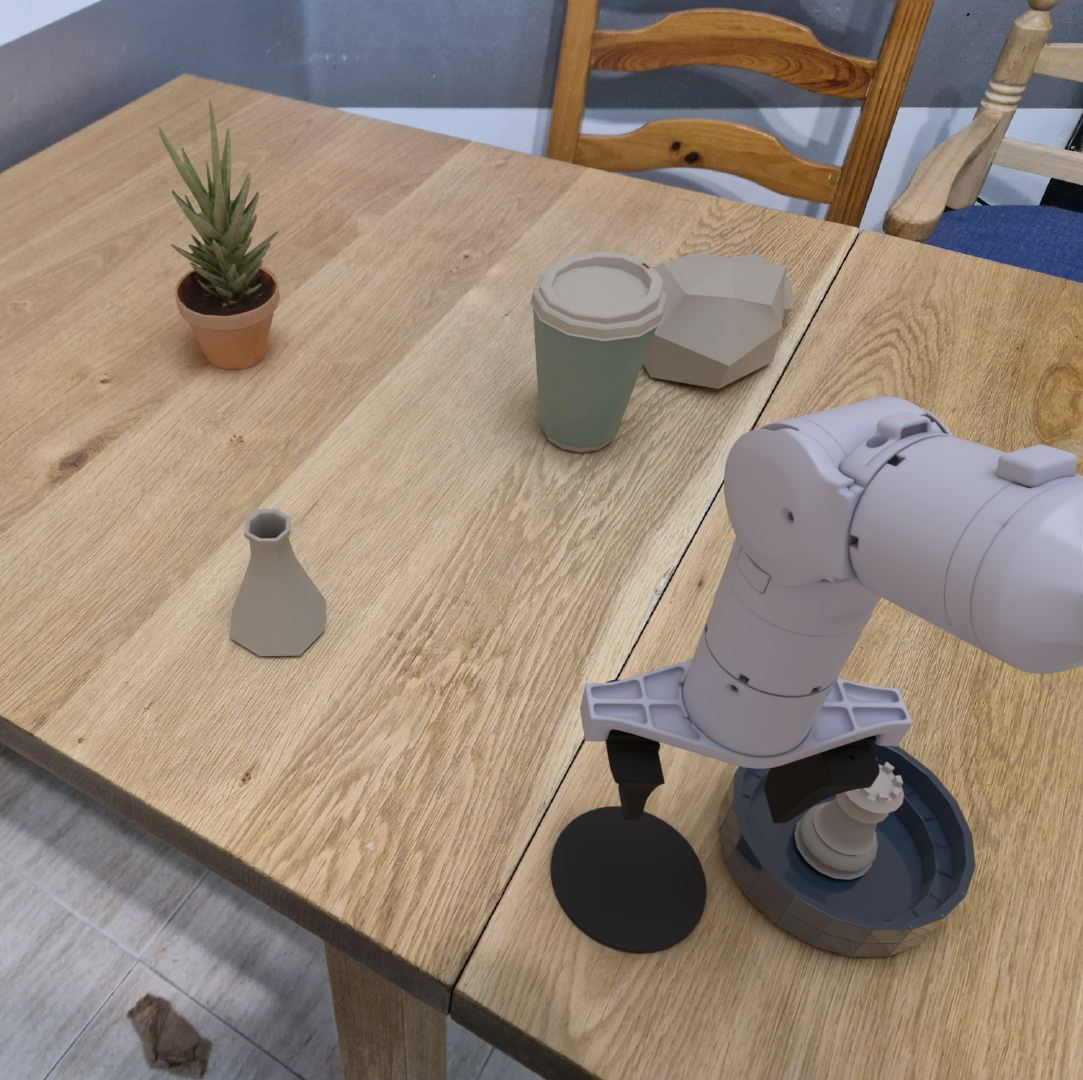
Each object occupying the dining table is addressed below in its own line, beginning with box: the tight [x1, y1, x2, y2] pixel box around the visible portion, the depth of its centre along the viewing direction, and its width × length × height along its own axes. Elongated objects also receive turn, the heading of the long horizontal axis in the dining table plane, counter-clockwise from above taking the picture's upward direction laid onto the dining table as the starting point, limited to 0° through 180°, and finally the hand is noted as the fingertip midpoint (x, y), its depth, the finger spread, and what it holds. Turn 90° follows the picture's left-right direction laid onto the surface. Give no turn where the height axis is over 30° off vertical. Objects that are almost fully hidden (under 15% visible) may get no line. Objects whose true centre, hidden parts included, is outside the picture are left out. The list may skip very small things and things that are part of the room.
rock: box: [642, 252, 794, 390], centre depth 94 cm, size 18×20×10 cm
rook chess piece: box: [794, 758, 904, 880], centre depth 57 cm, size 4×4×8 cm
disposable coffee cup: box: [529, 250, 667, 454], centre depth 83 cm, size 11×11×15 cm
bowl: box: [718, 743, 977, 958], centre depth 59 cm, size 13×13×4 cm
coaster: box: [550, 805, 707, 954], centre depth 59 cm, size 9×9×1 cm
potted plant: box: [156, 97, 281, 370], centre depth 89 cm, size 10×10×25 cm
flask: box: [229, 508, 327, 657], centre depth 70 cm, size 7×7×10 cm
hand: (701, 804), depth 53 cm, fingers open, 7 cm apart
